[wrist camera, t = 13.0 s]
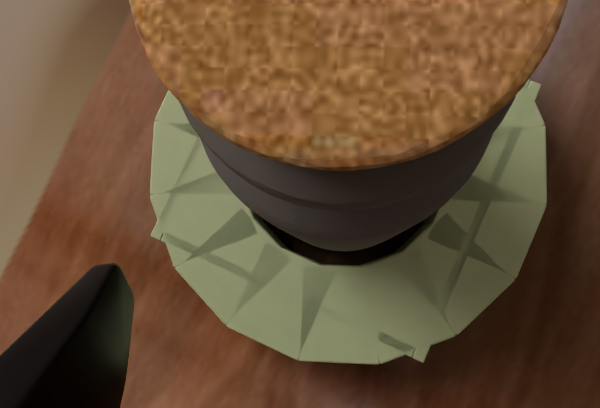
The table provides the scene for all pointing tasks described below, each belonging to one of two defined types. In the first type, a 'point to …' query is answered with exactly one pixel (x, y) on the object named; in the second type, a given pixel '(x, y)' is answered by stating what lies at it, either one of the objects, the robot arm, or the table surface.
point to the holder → (352, 278)
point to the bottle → (345, 100)
